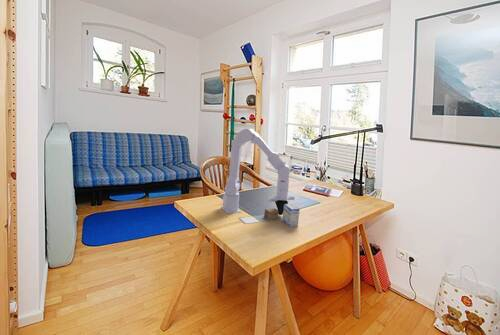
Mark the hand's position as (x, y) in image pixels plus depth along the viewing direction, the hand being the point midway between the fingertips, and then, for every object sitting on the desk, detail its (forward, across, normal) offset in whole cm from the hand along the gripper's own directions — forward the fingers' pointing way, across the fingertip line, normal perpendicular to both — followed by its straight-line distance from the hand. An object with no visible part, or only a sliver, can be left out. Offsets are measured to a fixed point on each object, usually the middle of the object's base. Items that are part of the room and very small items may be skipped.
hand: (280, 214), depth 139 cm
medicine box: (+2, 0, -10) cm, 10 cm away
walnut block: (+1, -5, 0) cm, 5 cm away
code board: (+1, -11, 0) cm, 11 cm away
